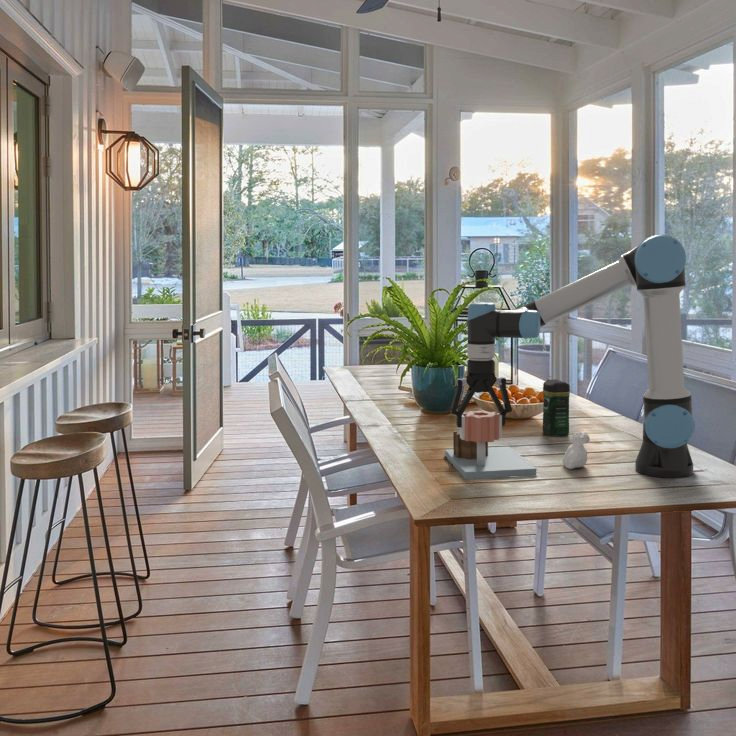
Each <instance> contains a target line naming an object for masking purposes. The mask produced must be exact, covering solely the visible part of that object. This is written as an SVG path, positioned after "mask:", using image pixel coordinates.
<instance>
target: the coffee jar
mask: <svg viewBox="0 0 736 736" xmlns="http://www.w3.org/2000/svg"><path fill="white" fill-rule="evenodd" d="M542 385H543V386H542V395H543V397H542V398H543V405H542V407H543V409H542V432H543V434H546V435H547V436H550V437H552V436H555V437H559V436H561V437H564V436H568V435H569V434H570V394H571V390H570V389H571V388H570V384H569V383H568V382H566V381H562V380H559V379H555V378H554V379H552V378H551V379H546V380H545V381H544V382H543V384H542Z"/></svg>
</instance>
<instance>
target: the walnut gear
mask: <svg viewBox="0 0 736 736" xmlns="http://www.w3.org/2000/svg"><path fill="white" fill-rule="evenodd" d="M452 433H453V449H454V455H455V457H457V458H466V459H474V458H477V443H476V442H474V441H465V440H462V439H461V438H460V428H459V429H458V430H453V432H452ZM488 448H489V442H486V456H488Z"/></svg>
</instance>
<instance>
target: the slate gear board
mask: <svg viewBox="0 0 736 736" xmlns="http://www.w3.org/2000/svg"><path fill="white" fill-rule="evenodd" d="M444 456H446V457H447V458H446V457H445V458H446V459H447V460H448V461H449V463H450V464H451V465H452V464H453V465H452V466H453V467H454V468H455V470H456V471H457V472H458V473H459V474H460V475H461V476H462V477H463V478H464V480H476V479H479V480H480V479H496V478H498V479H500V478H511V477H510V476H519V477H531V475H536V476H537V467H535V466H534V465H532V464H531V463H530V461H527V460H526V459H525V458H524V457H523V456H522V455H520V454H519V453H518V452H517V451H515V450H514V449H513V448H511V447H510V446H498V447H497V446H494V447H491V446H490V447H488V456H486V442H481V443H477V458H474V459H466V458H457V457H455V455H454V448H453V449H452V448H451V449H445V450H444ZM499 477H500V478H499Z"/></svg>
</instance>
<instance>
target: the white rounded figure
mask: <svg viewBox="0 0 736 736" xmlns="http://www.w3.org/2000/svg"><path fill="white" fill-rule="evenodd" d="M590 441H591V440H590V436H589V434H588V433H587V432H582V431H581V430H579V431H577V432H576V433H574V434H573V435H571V443H572V444H570V445H569V446H568V447H567V448H566V451H565V453H564V455H563V458H562V460H561V461H562V464H563V466H564V467H565V468H566V469H569V470H573V469H578V468H583V467H584V466H586V463H587V462H588V450H587V449H586V448H585V446H584V445H585V444H589V443H590Z"/></svg>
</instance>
